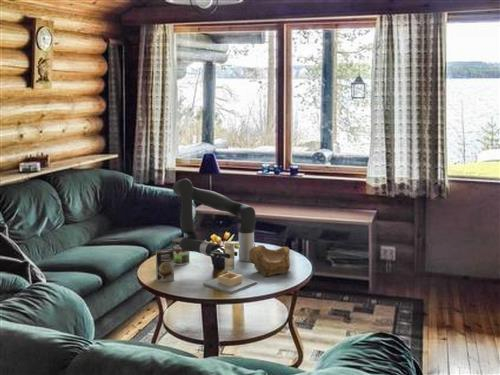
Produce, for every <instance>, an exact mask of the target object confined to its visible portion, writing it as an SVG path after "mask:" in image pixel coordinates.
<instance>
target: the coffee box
mask: <svg viewBox="0 0 500 375" xmlns="http://www.w3.org/2000/svg"><path fill="white" fill-rule="evenodd" d="M155 271H156V272H155V275H156V276H155V277H156V281H157V282H158V283H160V282H161V283H163V282H164V283H165V282H172V281H175V264H174V252H173V250H172V248H169V249H155Z"/></svg>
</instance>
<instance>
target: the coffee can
mask: <svg viewBox="0 0 500 375" xmlns="http://www.w3.org/2000/svg"><path fill="white" fill-rule="evenodd" d="M183 238H185V236H181V237H180V236H179V237H174V238H172V239H171V246H172V247H171V249H172V250H173V252H174V266H175V265H177V266H185V265H188V264H190V251H185V250H183V249H182V248H181V247H180V241H181V239H183Z"/></svg>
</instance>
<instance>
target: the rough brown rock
mask: <svg viewBox="0 0 500 375" xmlns="http://www.w3.org/2000/svg"><path fill="white" fill-rule="evenodd" d="M249 260H250V261H249V262H250V264H252V265H254V269H255V270H256V271H257V272H258V273H261V275H262V276H263V277H264V278H265V277H266V278H267V277H270V276H273V275H275V274H286V273H287V272H288V271H289V270H290V267H291V265H290V263H291V262H290V247H288V246H282V247H280V248H278V249H276V250H275V249H269V248H266V246H265V245H264V244H258V245H257V246H255V247H253V248H251V250H250V251H249Z"/></svg>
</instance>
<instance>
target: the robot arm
mask: <svg viewBox="0 0 500 375" xmlns="http://www.w3.org/2000/svg"><path fill="white" fill-rule="evenodd" d="M172 191H173V193H174V194H175V195H176V196H178V197H180V199H181V209H180V220H179V221H180V229H181V233H183V234H186V236H187V237H184V238H183V239H181V241H180V247H181V248H182V249H183V250H185V251H189V252H193V253H198V254H201V255H204V256H208V257H211V258H214V259H215V258H217V259H221V258H224V259H225V258H230V254H227V253H225V247H222V246H221V245H220V244H219V243H216V242H214V241H213V242H212V241H209V240H208V241H206V240H203V239H202V240H201V239H198V236H197V233H196V231H195V227H194V226H195V225H194V215H193V201H194V202H197V203H200V204H202V205H204V206H206V207H208V208H211V209H214V210H217V211H221V212H227V213H229V214H232V215H233V216H235V217H237V218H239V219H240V226H239V227H238V246H239V245H240V248H239V247H238V252H237V251H235V250H234V257H237V256H238V261H240V262H246V263H247V262H248V263H249V262H250V260H249V251H250V250H251V248H253V247H256V243H255V228H256V210H255V209H254V207H253V206H250V205H248V204H245V203H241V202H238V201H236V200H235V201H234V200H232V199H231V198H228V197H227V196H226V195H222V194H221V193H218V192H216V191H213V190H208V189H203V188H198V187H194V185H193V182H191V180H190V179H188V178H182V179H179V180H177V181H175V182H174V183H173V185H172Z"/></svg>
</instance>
